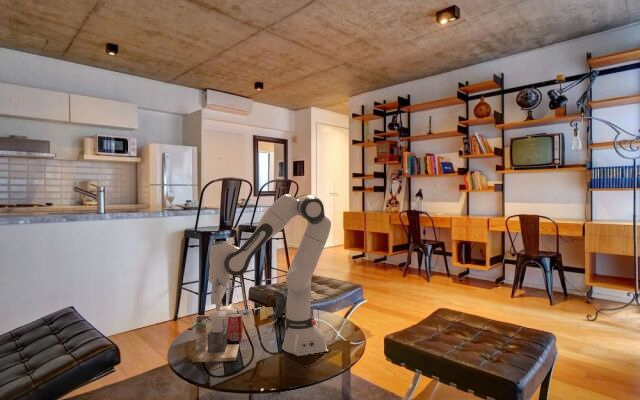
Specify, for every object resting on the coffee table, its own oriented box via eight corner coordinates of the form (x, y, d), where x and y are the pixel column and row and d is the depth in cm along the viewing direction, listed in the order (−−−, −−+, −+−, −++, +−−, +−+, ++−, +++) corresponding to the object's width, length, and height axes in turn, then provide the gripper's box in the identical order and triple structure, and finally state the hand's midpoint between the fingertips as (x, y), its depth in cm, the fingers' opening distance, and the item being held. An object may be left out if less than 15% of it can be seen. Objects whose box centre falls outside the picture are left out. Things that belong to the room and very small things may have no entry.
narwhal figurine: (297, 319, 210) (298, 288, 210) (272, 323, 202) (273, 291, 202) (286, 312, 222) (287, 283, 222) (263, 316, 214) (263, 285, 214)
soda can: (237, 335, 183) (237, 311, 183) (245, 339, 178) (245, 315, 178) (224, 339, 178) (225, 314, 178) (232, 343, 173) (232, 318, 173)
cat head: (224, 336, 182) (224, 312, 182) (206, 331, 189) (206, 307, 189) (245, 327, 194) (245, 305, 194) (227, 323, 201) (228, 300, 201)
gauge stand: (239, 347, 169) (239, 310, 169) (235, 360, 155) (236, 320, 155) (198, 348, 167) (199, 311, 167) (191, 362, 153) (192, 321, 153)
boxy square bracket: (226, 331, 167) (227, 310, 167) (224, 337, 160) (225, 315, 160) (199, 332, 165) (200, 311, 165) (196, 338, 158) (197, 316, 158)
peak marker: (201, 322, 160) (201, 320, 160) (201, 322, 159) (201, 320, 159) (198, 322, 159) (198, 320, 159) (197, 323, 159) (197, 320, 159)
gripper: (223, 282, 153) (222, 315, 153) (229, 272, 173) (228, 302, 173) (207, 282, 152) (206, 315, 152) (215, 272, 172) (214, 302, 172)
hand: (218, 308), depth 163 cm, fingers closed
